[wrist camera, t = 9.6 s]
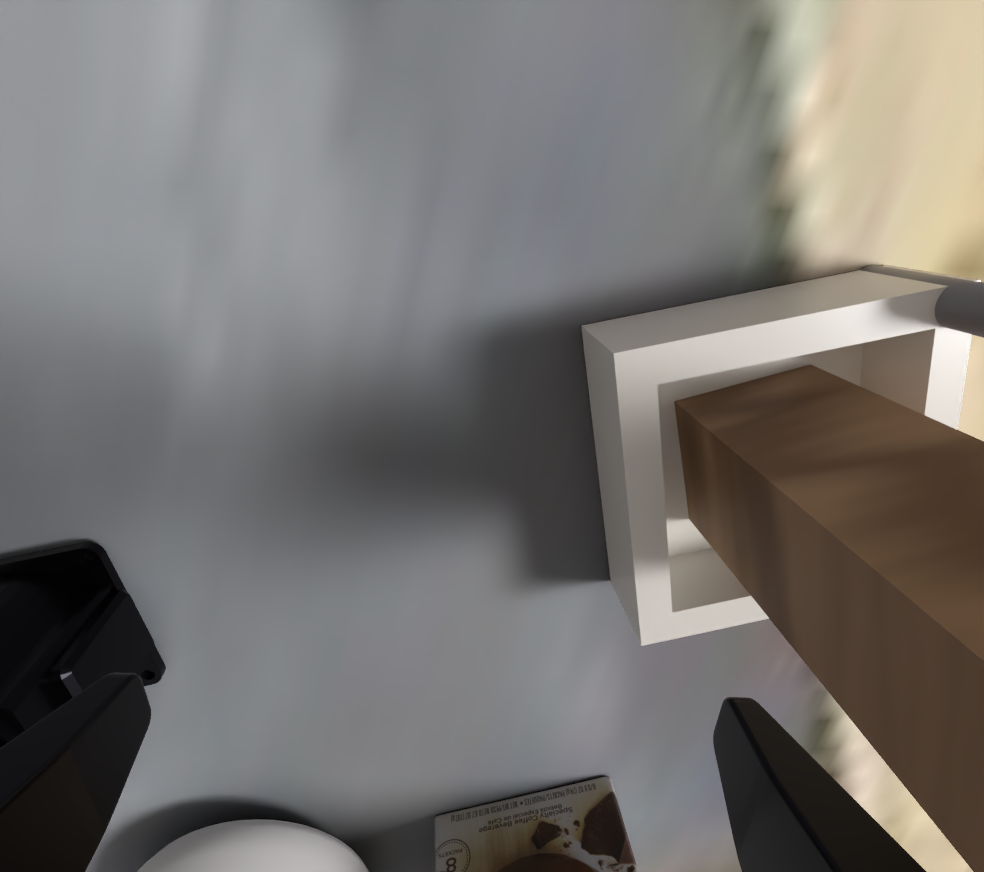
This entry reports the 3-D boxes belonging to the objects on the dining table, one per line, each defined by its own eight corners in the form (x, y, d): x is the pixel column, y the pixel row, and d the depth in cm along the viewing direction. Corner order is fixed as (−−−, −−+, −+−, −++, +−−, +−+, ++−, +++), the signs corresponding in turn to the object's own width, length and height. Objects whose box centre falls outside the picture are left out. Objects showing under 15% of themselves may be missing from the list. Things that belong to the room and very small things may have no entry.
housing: (610, 583, 25) (662, 691, 19) (580, 322, 20) (636, 369, 15) (864, 529, 25) (984, 621, 20) (888, 261, 20) (1051, 285, 15)
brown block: (689, 518, 23) (1032, 943, 10) (674, 401, 21) (1077, 740, 8) (814, 485, 23) (1318, 866, 10) (810, 364, 21) (1435, 643, 8)
